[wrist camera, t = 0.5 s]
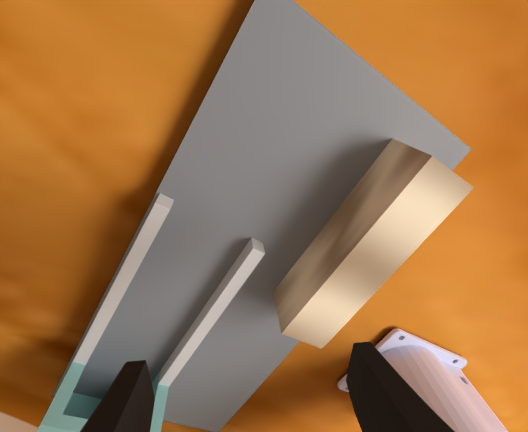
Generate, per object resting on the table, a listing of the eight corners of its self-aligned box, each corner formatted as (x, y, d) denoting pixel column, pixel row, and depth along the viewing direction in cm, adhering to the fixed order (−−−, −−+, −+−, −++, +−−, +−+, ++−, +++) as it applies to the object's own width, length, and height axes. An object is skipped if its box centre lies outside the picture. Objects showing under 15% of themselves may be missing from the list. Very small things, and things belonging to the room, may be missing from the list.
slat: (392, 138, 16) (432, 155, 13) (428, 165, 17) (473, 187, 14) (272, 292, 20) (281, 333, 17) (307, 307, 21) (321, 348, 18)
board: (459, 144, 18) (558, 178, 12) (218, 421, 28) (216, 505, 22) (263, -17, 13) (288, -72, 8) (58, 383, 23) (8, 478, 18)
